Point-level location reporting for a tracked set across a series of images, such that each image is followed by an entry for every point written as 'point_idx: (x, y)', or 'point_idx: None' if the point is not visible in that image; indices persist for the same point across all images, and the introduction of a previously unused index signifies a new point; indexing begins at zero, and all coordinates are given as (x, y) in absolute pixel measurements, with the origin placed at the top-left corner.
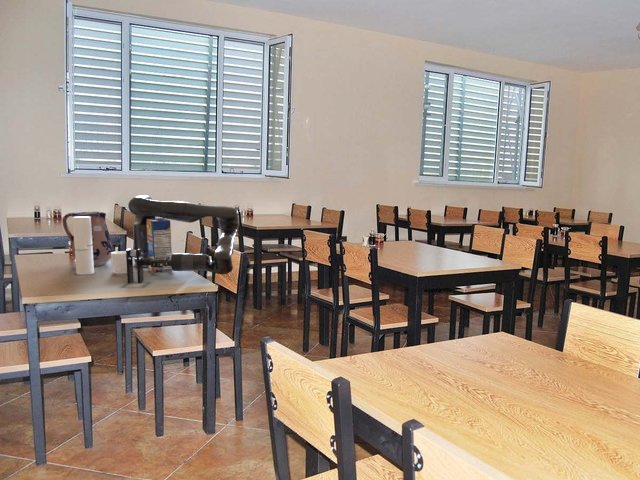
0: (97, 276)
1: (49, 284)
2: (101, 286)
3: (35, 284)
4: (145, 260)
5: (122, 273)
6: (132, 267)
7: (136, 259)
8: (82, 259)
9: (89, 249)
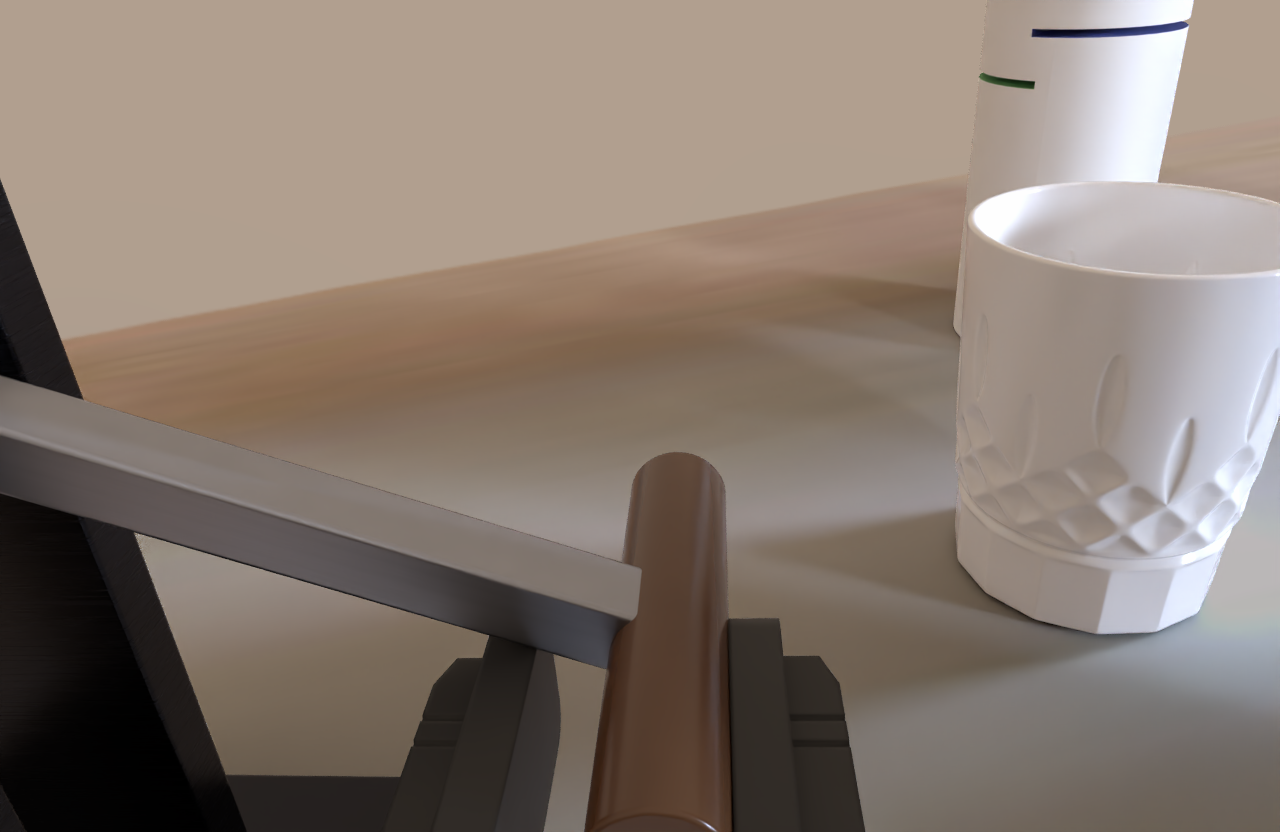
0: (902, 416)
1: (503, 311)
2: (249, 576)
3: (520, 275)
4: (466, 712)
5: (983, 555)
6: (98, 647)
7: (631, 508)
8: (976, 183)
9: (1056, 84)
